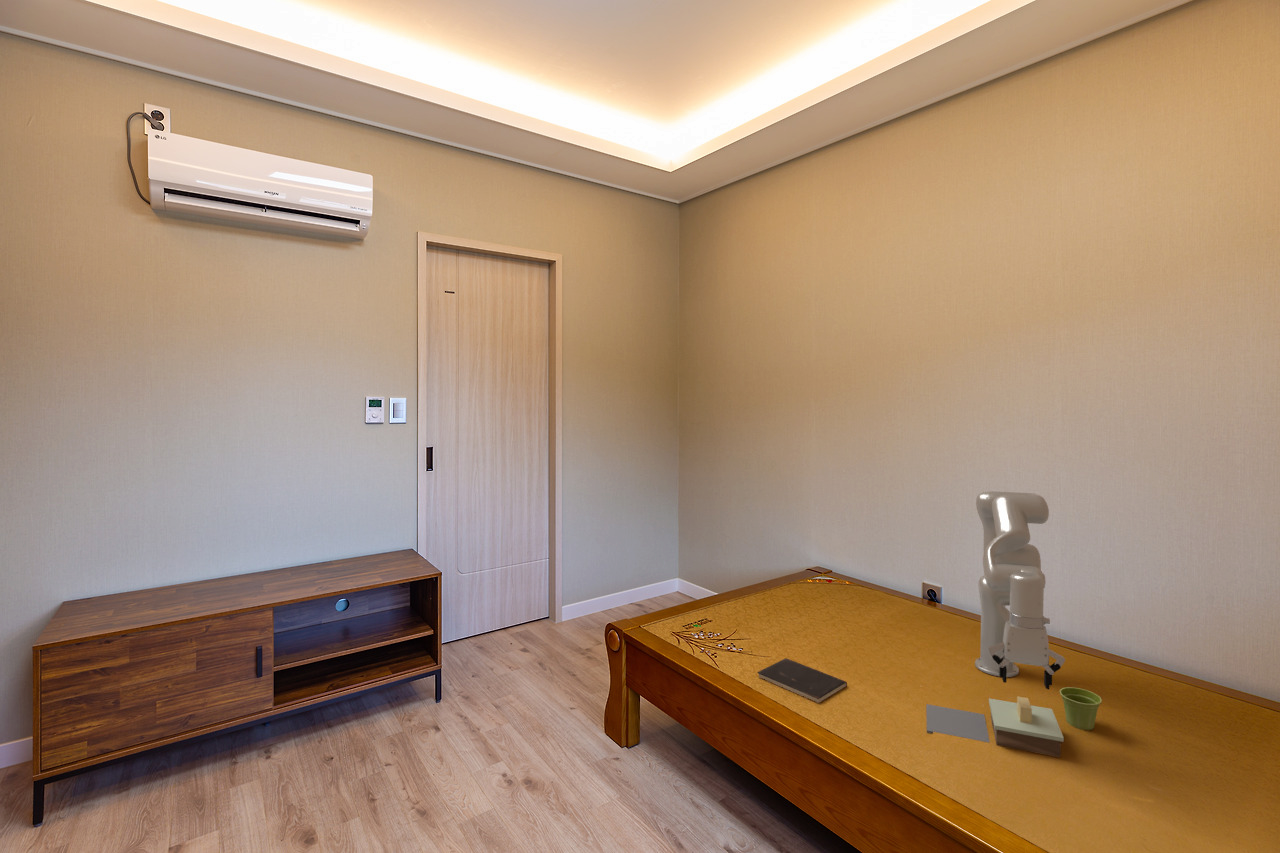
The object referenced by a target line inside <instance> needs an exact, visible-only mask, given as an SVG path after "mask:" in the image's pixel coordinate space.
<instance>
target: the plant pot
mask: <svg viewBox="0 0 1280 853" xmlns="http://www.w3.org/2000/svg"><path fill="white" fill-rule="evenodd" d="M1059 694H1060V696H1061V699H1062V701H1063V708H1064V713H1065V721H1066V723H1067V724H1068V725H1070V726H1071V727H1073V728H1076V729H1079V730H1083V731H1084V730H1085V731H1090V730H1091V731H1092V730H1094V728H1095V724H1096V718H1097V713H1098V710H1099V707H1100V704H1102V702H1103V700H1102V697H1101V696H1100V695H1098V694H1096V693H1095V692H1093V691H1090V690H1087V689H1083V688H1079V687H1071V686H1070V687H1069V686H1067V687H1062V688H1061V689H1059Z"/></svg>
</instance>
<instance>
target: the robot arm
mask: <svg viewBox="0 0 1280 853" xmlns="http://www.w3.org/2000/svg"><path fill="white" fill-rule="evenodd" d="M975 500H976V502H975V505H976V510H977V513H978V516H979V519H980V521H981V524H982V529H983V553H982V554H983V557H982V566H983V574H984V575H982V576H981V577H980V578H979V580H978V583H977V584H978V594H979V600H980V654H979V655H980V657H978V658H976V659H975V662H974V665H975V667H976V668H977V669H978V670H980V671H981V672H983V673H985V674H989V675H991V676H994V677H999V678H1001V680H1002V683H1004V684H1005V683H1007V678H1011V677H1013V678H1014V677H1015V676H1017V675H1019V672H1020V670H1019V667H1018V666H1017V664H1020V665H1021V664H1022V665H1029V666H1037V667H1042V668H1044V670H1043V671H1044V672H1043V685H1044V687H1045V689H1046V690H1050V686H1052V685H1053V675H1055V673H1056V672H1058V671H1059V670H1060V669H1061V668H1062V666H1063V665H1064V664H1065V663H1066V659H1065V657H1064V656H1063V655H1061V654H1059V653H1057V652H1056V651H1054V650H1051V649H1050V648H1049V636H1048V632H1047V626H1045V624H1046V625H1047V624H1051V620H1050V618H1049V617H1045V616H1044V593H1045V592H1044V591H1045V588H1046V575H1045V574H1044V572H1043V571H1042V565H1041V564H1042V563H1041V554H1040V551H1039V550H1038V548H1037V547H1036V546H1035V545H1033V544H1029V543H1030V541H1031V534H1030V529H1029V525H1028V524H1032V525H1033V524H1036V525H1038V524H1039V525H1041V524H1042V525H1043V524H1045V523H1046V522H1047V521H1048V519H1049V516H1050V515H1049V514H1050V512H1049V506H1048V503H1047V501H1046V499H1045V498H1044V497H1043V496H1042V495H1040V494H1036V493H1032V492H1013V491H1012V492H1010V491H985V492H981V493H979V494H977V495H976V499H975ZM1006 606H1008V607H1009V609H1008V608H1007V607H1006ZM1051 657H1052V658H1053V659H1055V660H1056V661H1055V662H1054V663H1052V664H1050V658H1051ZM1014 663H1015V664H1014Z"/></svg>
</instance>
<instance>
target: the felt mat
mask: <svg viewBox="0 0 1280 853" xmlns="http://www.w3.org/2000/svg"><path fill="white" fill-rule="evenodd" d="M925 705H926V708H925V709H926V712H925V714H926V733H927V734H934V733H938V734H943V735H947V736H948V735H949V736H954V737H957V738H958V737H959V738H962V739H963V738H965V739H969V740H974V741H980V742H983V743H988V744H989V743H990V738H989V736H990V735H989V731H988V728H987V722H986V717H985V716H986V715H985V714H984V713H979V712H972V711H967V710H963V709H962V710H961V709H956V708H951V707H946V706H945V707H943V706H940V705H932V704H928V703H927V704H925Z"/></svg>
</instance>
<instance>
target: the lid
mask: <svg viewBox="0 0 1280 853" xmlns="http://www.w3.org/2000/svg"><path fill="white" fill-rule="evenodd" d="M988 704H989V708H990V715H991V714H992V719H993V723H994V728H995V729H997V730H1002V731H1008V732H1013V733H1018V734H1024V735H1029V736H1035V737H1040V738H1045V739H1051V740H1056V741H1061V743H1064V740H1065V738H1064V735H1063V733H1062V730H1061V728H1060V726H1059V723H1058V720H1057V718H1056V716H1055V713H1054V711H1053V709H1052V708H1048V707H1044V706H1043V707H1042V706H1037V705H1032V704H1031V702H1030V700H1029V698H1028V697H1024V696H1023V697H1022V696H1016V702H1012V701H1006V700H1001V699H994V698H990V697H989V698H988Z"/></svg>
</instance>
